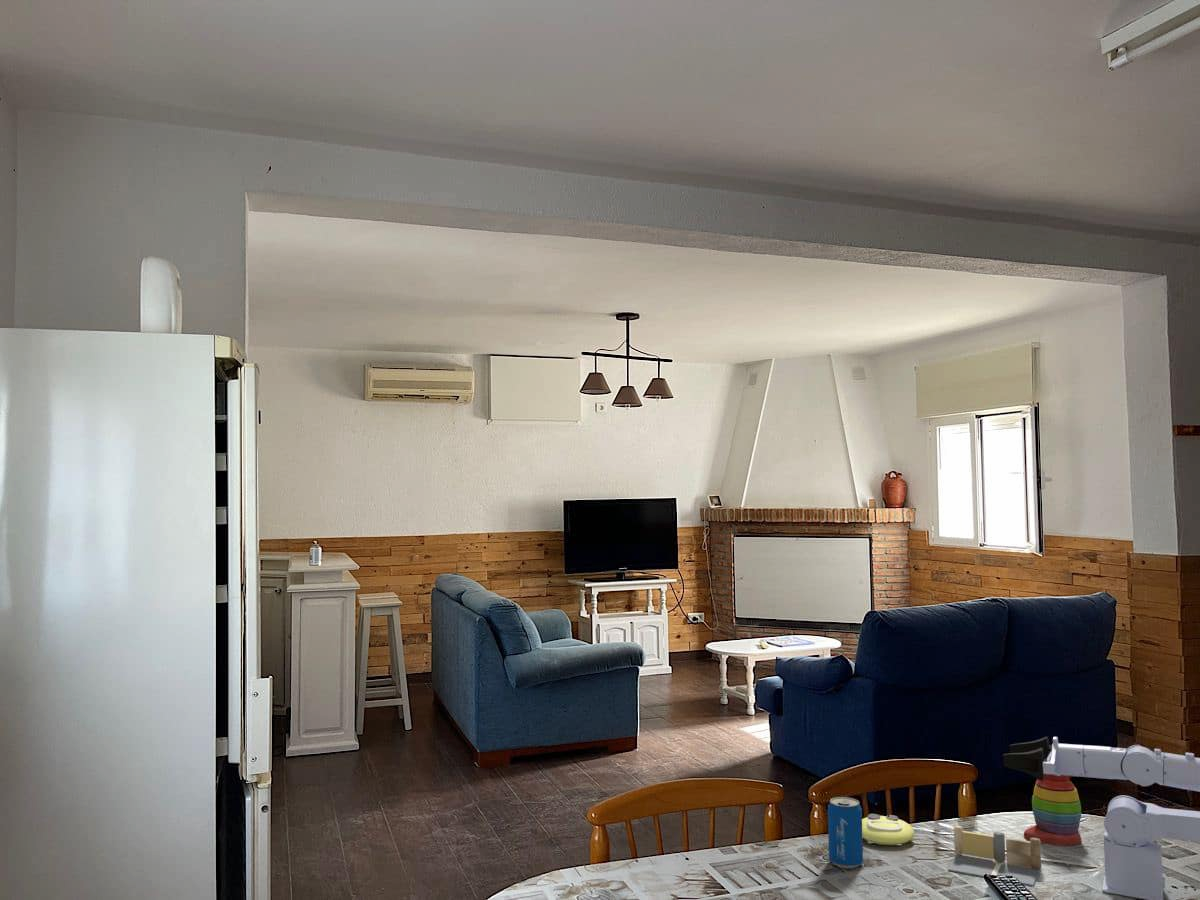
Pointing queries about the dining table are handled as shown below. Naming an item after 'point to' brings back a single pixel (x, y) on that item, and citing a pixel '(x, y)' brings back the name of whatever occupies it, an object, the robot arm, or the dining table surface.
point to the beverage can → (845, 832)
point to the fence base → (1024, 853)
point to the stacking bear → (1055, 811)
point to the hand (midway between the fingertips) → (1006, 755)
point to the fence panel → (979, 844)
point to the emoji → (886, 830)
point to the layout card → (992, 868)
